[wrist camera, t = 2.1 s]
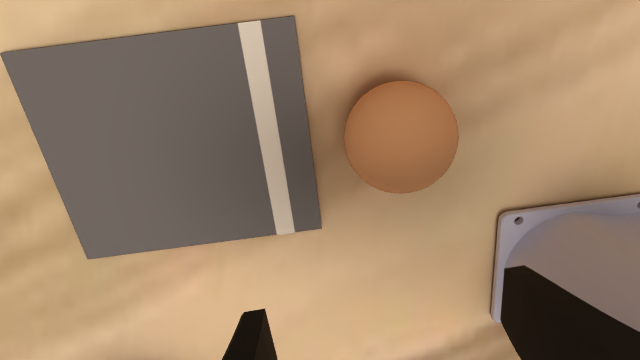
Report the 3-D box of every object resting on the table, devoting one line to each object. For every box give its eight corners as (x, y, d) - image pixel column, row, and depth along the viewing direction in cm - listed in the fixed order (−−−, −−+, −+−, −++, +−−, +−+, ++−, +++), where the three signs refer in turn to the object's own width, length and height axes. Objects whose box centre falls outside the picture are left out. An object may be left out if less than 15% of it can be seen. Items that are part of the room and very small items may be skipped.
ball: (436, 65, 20) (480, 86, 15) (436, 161, 22) (475, 205, 17) (333, 78, 19) (346, 103, 15) (342, 173, 22) (357, 220, 17)
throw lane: (294, 15, 18) (294, 16, 18) (321, 225, 23) (321, 229, 22) (3, 52, 18) (-2, 53, 18) (89, 256, 23) (87, 260, 22)
